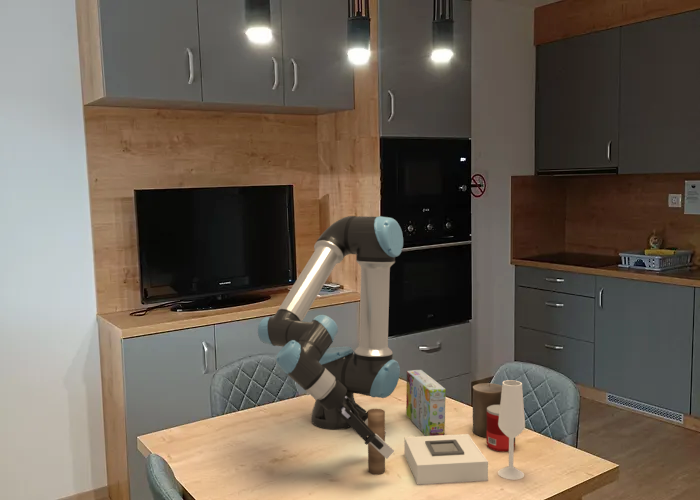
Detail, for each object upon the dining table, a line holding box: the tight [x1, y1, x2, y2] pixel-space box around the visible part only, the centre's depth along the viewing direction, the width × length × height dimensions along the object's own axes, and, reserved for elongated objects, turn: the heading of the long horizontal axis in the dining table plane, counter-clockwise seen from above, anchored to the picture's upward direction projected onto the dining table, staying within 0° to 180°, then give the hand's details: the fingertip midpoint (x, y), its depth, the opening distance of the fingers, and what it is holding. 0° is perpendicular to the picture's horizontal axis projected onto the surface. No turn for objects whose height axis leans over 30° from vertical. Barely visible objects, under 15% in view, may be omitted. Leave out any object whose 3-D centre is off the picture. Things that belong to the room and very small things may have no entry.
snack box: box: [405, 369, 447, 436], centre depth 200 cm, size 21×6×15 cm, turn 14°
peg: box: [367, 408, 386, 476], centre depth 170 cm, size 4×4×16 cm
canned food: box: [485, 405, 516, 453], centre depth 185 cm, size 8×8×11 cm
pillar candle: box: [472, 382, 502, 438], centre depth 195 cm, size 10×10×15 cm
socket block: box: [403, 433, 489, 485], centre depth 172 cm, size 18×18×6 cm
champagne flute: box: [497, 379, 526, 481], centre depth 167 cm, size 7×7×24 cm
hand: (386, 444), depth 170 cm, fingers open, 11 cm apart
